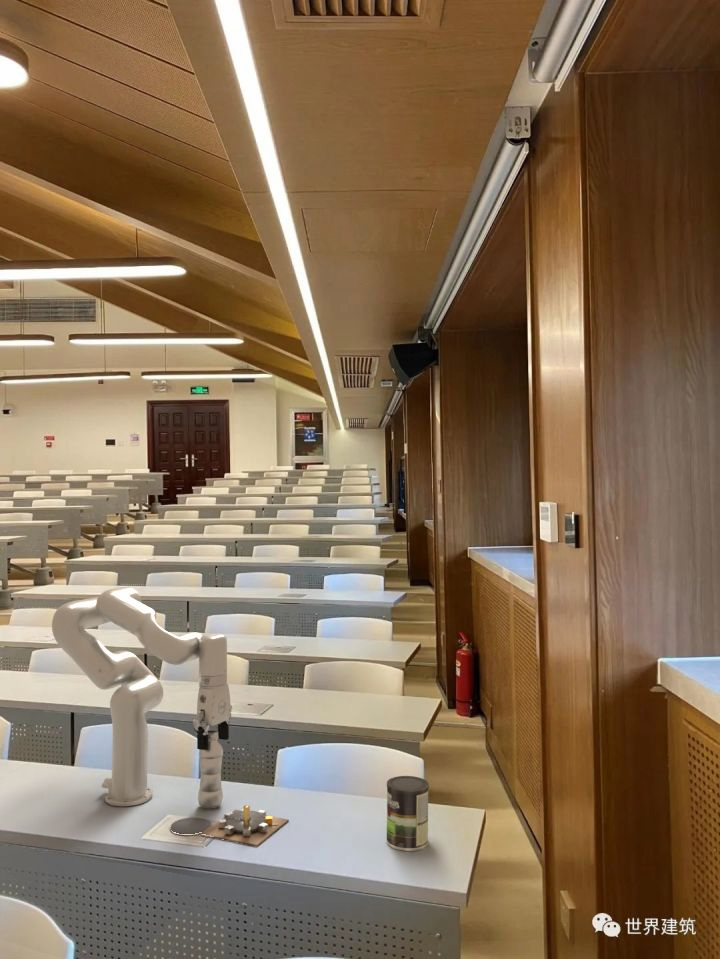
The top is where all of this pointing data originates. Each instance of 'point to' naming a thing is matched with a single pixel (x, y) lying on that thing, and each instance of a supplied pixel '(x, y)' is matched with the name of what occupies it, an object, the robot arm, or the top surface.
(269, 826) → the base plate
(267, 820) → the sprocket
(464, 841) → the top surface
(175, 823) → the pad
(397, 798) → the coffee can
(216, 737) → the plastic bottle
